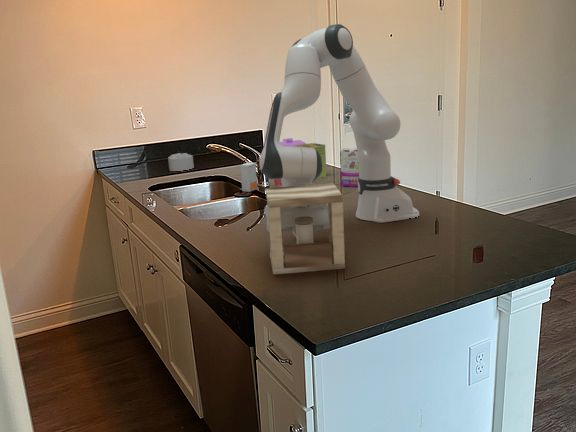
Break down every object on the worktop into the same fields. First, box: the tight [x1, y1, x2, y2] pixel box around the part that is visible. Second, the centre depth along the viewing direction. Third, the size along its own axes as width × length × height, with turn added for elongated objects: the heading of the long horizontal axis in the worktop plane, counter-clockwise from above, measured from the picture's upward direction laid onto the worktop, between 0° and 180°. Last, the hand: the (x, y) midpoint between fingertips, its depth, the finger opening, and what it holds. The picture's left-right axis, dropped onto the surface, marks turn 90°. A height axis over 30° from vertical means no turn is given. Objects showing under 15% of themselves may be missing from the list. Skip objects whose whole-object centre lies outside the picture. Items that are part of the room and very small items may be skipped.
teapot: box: [279, 138, 307, 146], centre depth 315 cm, size 15×25×14 cm, turn 13°
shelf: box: [265, 182, 346, 275], centre depth 167 cm, size 17×20×21 cm
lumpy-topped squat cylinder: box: [167, 152, 195, 172], centre depth 318 cm, size 10×13×9 cm
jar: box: [295, 216, 314, 244], centre depth 167 cm, size 5×5×12 cm
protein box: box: [292, 142, 327, 179], centre depth 278 cm, size 10×15×16 cm
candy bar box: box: [339, 148, 359, 188], centre depth 256 cm, size 11×5×16 cm, turn 68°
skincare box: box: [240, 162, 258, 193], centre depth 260 cm, size 6×4×12 cm
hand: (302, 242), depth 171 cm, fingers closed
